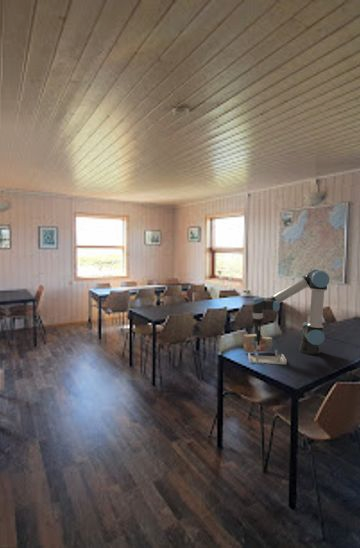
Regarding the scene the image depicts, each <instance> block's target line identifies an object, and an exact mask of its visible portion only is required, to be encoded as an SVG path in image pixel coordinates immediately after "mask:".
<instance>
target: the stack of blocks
mask: <svg viewBox="0 0 360 548" xmlns="http://www.w3.org/2000/svg"><path fill="white" fill-rule="evenodd" d="M256 340H257V334H255V333H251V334H243V351H244V352H245V353H247V354H248V353H254V349H256ZM273 342H274V339H273V338H272V337H271V336H262V335H261V341H260V349H256V353H258V352H270V351H274V349H273V347H274V343H273Z"/></svg>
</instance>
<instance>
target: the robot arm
mask: <svg viewBox="0 0 360 548" xmlns="http://www.w3.org/2000/svg"><path fill="white" fill-rule="evenodd" d="M329 283H330V276H329V275H328V273H327V272H326V271H324V270H319V269H313V270H311V271H309V272H308V273H306V274H304V275H303V276H301V279H298V280H297V281H296V282H294V283H292V284H290V285H289V286H287V287H285V288H284V289H281V290H280V291H277V293H275V294H273V295H271V296H270V297H267V298H265V300H264V298H262V297H254V298H253V299H252V313H251V316H252V324H254V334H257V340H256V349H260V341H261V332H262V331H261V330H262V329H261V325H262V324H263V323H264V311H267V312H268V311H269V312H270V311H271V312H279V310H280V307H281V306H280V303H282V302H283V301H285V300H287V299H290V298H291V297H293V296H294V295H296V294H298V293H299V292H301V291H303V290H305V289H306V288H309V289H310V291H311V296H310V307H309V308H310V309H309V318H308V319H309V321H308V322H306V321H304V322H303V323H302V326H301V327H302V328H301V329H302V331H301V332H302V334H301V342H300V345H299V352H300V353H302V354H306V355H314V356H315V355H320V354H321V348H320V346H319V345H321V344H322V343H324V341H325V337H326V336H325V333H324V325H323V315H324V301H325V300H324V299H325V292H326V291H327V290H328V285H329Z"/></svg>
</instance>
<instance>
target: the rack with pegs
mask: <svg viewBox="0 0 360 548" xmlns="http://www.w3.org/2000/svg"><path fill="white" fill-rule="evenodd" d="M247 358H248V361H249V364H264V363H266V364H265V365H267V364H271V365H272V364H273V365H287V362H288V361H287V358H286V357H285V355H284V354H283V353H281V354H280V353H278V349H275V350H274V356H273V355H259V353H258V352H256V349H254V352H253V355H251V352H248V353H247Z"/></svg>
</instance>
